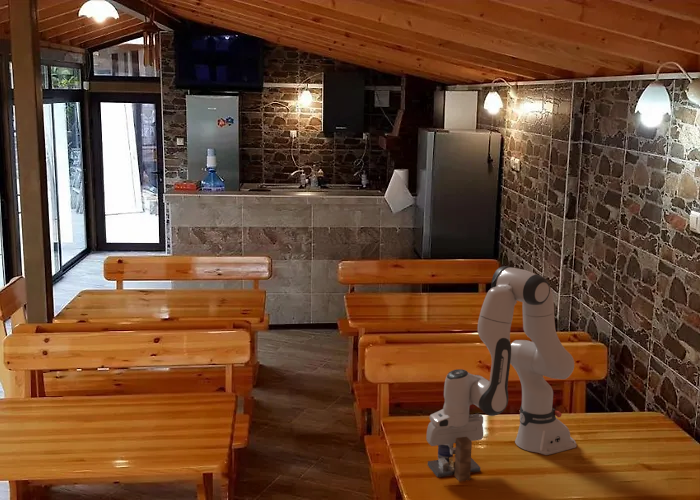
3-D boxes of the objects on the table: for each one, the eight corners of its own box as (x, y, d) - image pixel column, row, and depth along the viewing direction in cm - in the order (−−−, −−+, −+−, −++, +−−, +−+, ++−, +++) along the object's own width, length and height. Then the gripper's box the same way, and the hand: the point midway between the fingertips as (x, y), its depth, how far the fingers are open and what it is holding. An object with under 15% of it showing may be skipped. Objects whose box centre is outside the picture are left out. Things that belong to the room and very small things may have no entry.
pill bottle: (452, 462, 269) (453, 437, 267) (437, 461, 270) (438, 435, 268) (453, 456, 274) (454, 430, 272) (438, 454, 275) (439, 429, 273)
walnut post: (465, 474, 261) (466, 436, 258) (470, 480, 257) (471, 441, 254) (454, 475, 260) (455, 437, 257) (459, 481, 256) (460, 443, 253)
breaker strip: (469, 459, 272) (469, 450, 271) (480, 471, 263) (480, 462, 262) (427, 465, 267) (427, 456, 267) (437, 477, 259) (437, 468, 258)
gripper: (479, 409, 267) (477, 445, 270) (425, 415, 262) (424, 452, 264) (487, 416, 261) (485, 453, 264) (432, 423, 256) (431, 461, 258)
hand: (454, 453), depth 264 cm, fingers closed
